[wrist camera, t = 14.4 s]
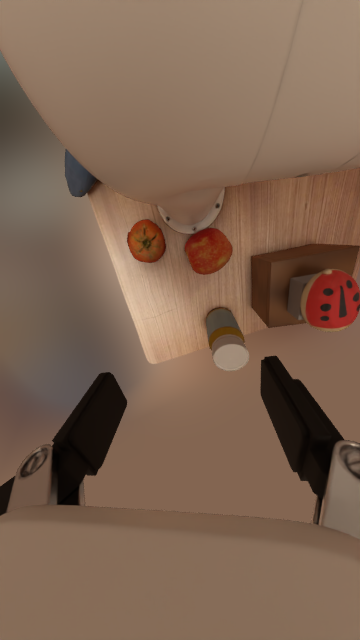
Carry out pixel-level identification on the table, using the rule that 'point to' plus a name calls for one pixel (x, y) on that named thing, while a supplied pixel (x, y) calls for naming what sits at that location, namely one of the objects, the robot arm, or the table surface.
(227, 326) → the bottle
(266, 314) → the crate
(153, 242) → the tomato
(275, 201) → the table surface
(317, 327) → the ladybug figurine
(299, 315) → the grey block
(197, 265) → the apple
